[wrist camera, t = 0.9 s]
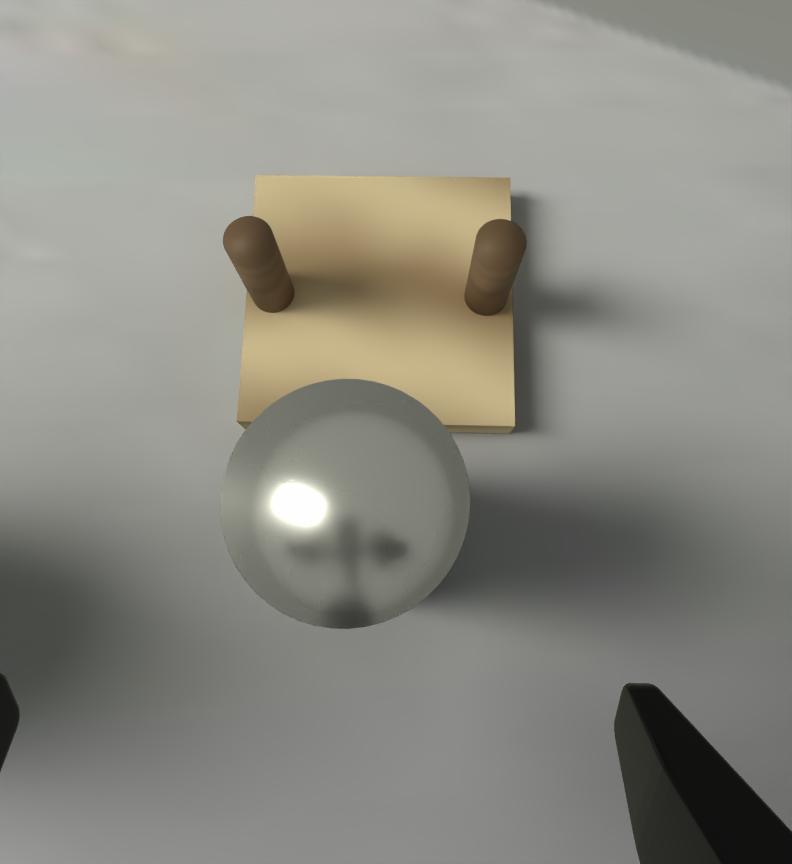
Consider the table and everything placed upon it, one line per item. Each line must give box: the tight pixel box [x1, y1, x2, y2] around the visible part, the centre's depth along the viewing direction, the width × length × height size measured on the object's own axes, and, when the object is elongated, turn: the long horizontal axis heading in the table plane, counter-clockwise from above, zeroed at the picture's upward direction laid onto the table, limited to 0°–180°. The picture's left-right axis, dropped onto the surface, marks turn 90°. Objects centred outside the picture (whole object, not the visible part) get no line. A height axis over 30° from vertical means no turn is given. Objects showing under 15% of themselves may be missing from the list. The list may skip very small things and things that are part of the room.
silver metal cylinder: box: [220, 379, 470, 629], centre depth 18 cm, size 5×5×12 cm
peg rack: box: [223, 175, 526, 433], centre depth 23 cm, size 10×10×5 cm
